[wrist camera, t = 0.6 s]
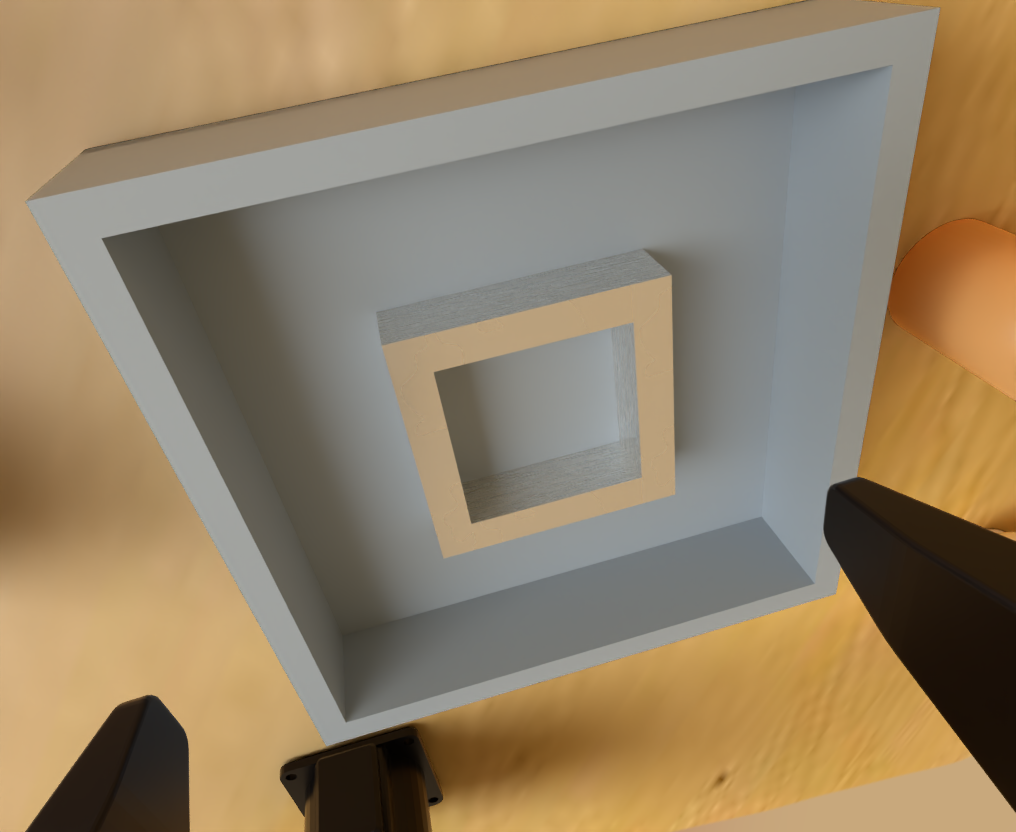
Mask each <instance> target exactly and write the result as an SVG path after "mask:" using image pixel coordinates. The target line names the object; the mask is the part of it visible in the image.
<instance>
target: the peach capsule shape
mask: <svg viewBox="0 0 1016 832" xmlns="http://www.w3.org/2000/svg"><path fill="white" fill-rule="evenodd" d="M888 307H889V312H890V315H891V317H892V319H893V320H894V322H895V323H896V324H897V325H898V326H900V327H901V328H903V329H904V330H906V331H907V332H909V333H910V334H912V335H913V336H915V337H917V338H918V339H920V340H921V341H923V342H924V343H926V344H928V345H929V346H931V347H932V348H934V349H935V350H937V351H938V352H940V353H942V354H943V355H945V356H946V357H948V358H949V359H951V360H952V361H954V362H956V363H957V364H959V365H960V366H962V367H963V368H965V369H966V370H968V371H970V372H971V373H973V374H974V375H976V376H977V377H979V378H980V379H982V380H984V381H985V382H987V383H988V384H990V385H991V386H993V387H994V388H996V389H998V390H999V391H1001V392H1002V393H1004V394H1005V395H1007V396H1008V397H1010V398H1012V399H1013V400H1015V401H1016V235H1015V234H1012V233H1010V232H1007V231H1005V230H1003V229H1000V228H998V227H995V226H993V225H990V224H988V223H985V222H983V221H980V220H977V219H960V220H955V221H952V222H949V223H946V224H944V225H942V226H940V227H938V228H936V229H934V230H933V231H931V232H930V233H929V234H927V235H926V236H925V237H923V238H922V239H921V240H920V241H919V242H918V243H917V244H916V245H915V246H914V247H913V248H912V249H911V250H910V251H909V252H908V253H907V255H906V256H905V257H904V259H903V260H902V262H901V263H900V265H899V267H898V268H897V270H896V272H895V274H894V276H893V279H892V282H891V287H890V293H889V299H888Z"/></svg>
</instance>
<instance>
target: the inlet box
mask: <svg viewBox="0 0 1016 832" xmlns="http://www.w3.org/2000/svg"><path fill="white" fill-rule="evenodd" d="M939 13H940V7H928V6H917V5H906V4H895V3H884V2H873V1H862V0H806V1H802V2H797V3H792V4H787V5H782V6H777V7H772V8H768V9H763V10H758V11H753V12H748V13H743V14H739V15H734V16H729V17H724V18H719V19H714V20H709V21H705V22H700V23H695V24H690V25H685V26H680V27H676V28H671V29H666V30H661V31H656V32H651V33H647V34H642V35H637V36H632V37H627V38H622V39H617V40H613V41H608V42H603V43H598V44H593V45H588V46H584V47H579V48H574V49H569V50H564V51H559V52H554V53H550V54H545V55H540V56H535V57H530V58H525V59H521V60H516V61H511V62H506V63H501V64H496V65H491V66H487V67H482V68H477V69H472V70H467V71H462V72H458V73H453V74H448V75H443V76H438V77H433V78H429V79H424V80H419V81H414V82H409V83H404V84H399V85H395V86H390V87H385V88H380V89H375V90H370V91H366V92H361V93H356V94H351V95H346V96H341V97H336V98H332V99H327V100H322V101H317V102H312V103H307V104H303V105H298V106H293V107H288V108H283V109H278V110H273V111H269V112H264V113H259V114H254V115H249V116H244V117H240V118H235V119H230V120H225V121H220V122H215V123H211V124H206V125H201V126H196V127H191V128H186V129H181V130H177V131H172V132H167V133H162V134H157V135H152V136H148V137H143V138H138V139H133V140H128V141H123V142H118V143H114V144H109V145H104V146H99V147H94V148H89V149H85V150H84V151H83V152H82V153H81V154H80V155H79V156H77V157H76V158H75V159H74V160H73V161H72V162H70V163H69V164H68V165H67V166H66V167H65V168H63V169H62V170H61V171H60V172H59V173H58V174H56V175H55V176H54V177H53V178H52V179H51V180H50V181H48V182H47V183H46V184H45V185H44V186H43V187H41V188H40V189H39V190H38V191H37V192H36V193H34V194H33V195H32V196H31V197H30V198H29V199H28V200H26V201H25V202H26V204H27V206H28V207H29V209H30V211H31V213H32V215H33V216H34V218H35V220H36V222H37V224H38V225H39V227H40V229H41V231H42V233H43V234H44V236H45V238H46V240H47V242H48V244H49V245H50V247H51V249H52V251H53V253H54V254H55V256H56V258H57V260H58V262H59V263H60V265H61V267H62V269H63V271H64V272H65V274H66V276H67V278H68V280H69V282H70V283H71V285H72V287H73V289H74V291H75V292H76V294H77V296H78V298H79V300H80V301H81V303H82V305H83V307H84V309H85V310H86V312H87V314H88V316H89V318H90V320H91V321H92V323H93V325H94V327H95V329H96V330H97V332H98V334H99V336H100V338H101V339H102V341H103V343H104V345H105V347H106V348H107V350H108V352H109V354H110V356H111V358H112V359H113V361H114V363H115V365H116V367H117V368H118V370H119V372H120V374H121V376H122V377H123V379H124V381H125V383H126V385H127V386H128V388H129V390H130V392H131V394H132V396H133V397H134V399H135V401H136V403H137V405H138V406H139V408H140V410H141V412H142V414H143V415H144V417H145V419H146V421H147V423H148V424H149V426H150V428H151V430H152V432H153V434H154V435H155V437H156V439H157V441H158V443H159V444H160V446H161V448H162V450H163V452H164V453H165V455H166V457H167V459H168V461H169V462H170V464H171V466H172V468H173V470H174V472H175V473H176V475H177V477H178V479H179V481H180V482H181V484H182V486H183V488H184V490H185V491H186V493H187V495H188V497H189V499H190V500H191V502H192V504H193V506H194V508H195V510H196V511H197V513H198V515H199V517H200V519H201V520H202V522H203V524H204V526H205V528H206V529H207V531H208V533H209V535H210V537H211V538H212V540H213V542H214V544H215V546H216V548H217V549H218V551H219V553H220V555H221V557H222V558H223V560H224V562H225V564H226V566H227V567H228V569H229V571H230V573H231V575H232V576H233V578H234V580H235V582H236V584H237V585H238V587H239V589H240V591H241V593H242V595H243V596H244V598H245V600H246V602H247V604H248V605H249V607H250V609H251V611H252V613H253V614H254V616H255V618H256V620H257V622H258V623H259V625H260V627H261V629H262V631H263V633H264V634H265V636H266V638H267V640H268V642H269V643H270V645H271V647H272V649H273V651H274V652H275V654H276V656H277V658H278V660H279V661H280V663H281V665H282V667H283V669H284V671H285V672H286V674H287V676H288V678H289V680H290V681H291V683H292V685H293V687H294V689H295V690H296V692H297V694H298V696H299V698H300V699H301V701H302V703H303V705H304V707H305V709H306V710H307V712H308V714H309V716H310V718H311V719H312V721H313V723H314V725H315V727H316V728H317V730H318V732H319V734H320V736H321V737H322V739H323V741H324V743H325V745H326V746H329V745H332V744H336V743H339V742H342V741H346V740H349V739H353V738H356V737H359V736H363V735H366V734H369V733H373V732H376V731H379V730H383V729H386V728H389V727H393V726H396V725H399V724H403V723H406V722H409V721H413V720H416V719H419V718H423V717H426V716H429V715H433V714H436V713H439V712H443V711H446V710H449V709H453V708H456V707H460V706H463V705H466V704H470V703H473V702H476V701H480V700H483V699H486V698H490V697H493V696H496V695H500V694H503V693H506V692H510V691H513V690H516V689H520V688H523V687H526V686H530V685H533V684H536V683H540V682H543V681H546V680H550V679H553V678H556V677H560V676H563V675H567V674H570V673H573V672H577V671H580V670H583V669H587V668H590V667H593V666H597V665H600V664H603V663H607V662H610V661H613V660H617V659H620V658H623V657H627V656H630V655H633V654H637V653H640V652H643V651H647V650H650V649H653V648H657V647H660V646H664V645H667V644H670V643H674V642H677V641H680V640H684V639H687V638H690V637H694V636H697V635H700V634H704V633H707V632H710V631H714V630H717V629H720V628H724V627H727V626H730V625H734V624H737V623H740V622H744V621H747V620H750V619H754V618H757V617H760V616H764V615H767V614H771V613H774V612H777V611H781V610H784V609H787V608H791V607H794V606H797V605H801V604H804V603H807V602H811V601H814V600H817V599H821V598H824V597H827V596H831V595H834V594H836V590H837V585H838V579H839V574H840V568H841V566H840V564H839V563H838V561H837V559H836V558H835V556H834V554H833V553H832V551H831V549H830V548H829V546H828V544H827V542H826V539H825V536H824V531H823V523H824V514H825V505H826V496H827V490H828V489H829V487H830V486H831V485H833V484H835V483H838V482H841V481H845V480H848V479H851V478H855V477H857V473H858V467H859V461H860V456H861V450H862V444H863V439H864V433H865V428H866V422H867V416H868V411H869V405H870V400H871V394H872V388H873V383H874V377H875V372H876V366H877V360H878V355H879V349H880V344H881V338H882V332H883V327H884V321H885V315H886V310H887V304H888V299H889V293H890V287H891V282H892V276H893V271H894V265H895V259H896V254H897V248H898V243H899V237H900V231H901V226H902V220H903V215H904V209H905V203H906V198H907V192H908V186H909V181H910V175H911V170H912V164H913V158H914V153H915V147H916V142H917V136H918V130H919V125H920V119H921V114H922V108H923V102H924V97H925V91H926V85H927V80H928V74H929V69H930V63H931V57H932V52H933V46H934V41H935V35H936V29H937V24H938V18H939Z"/></svg>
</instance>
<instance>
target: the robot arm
mask: <svg viewBox="0 0 1016 832" xmlns="http://www.w3.org/2000/svg"><path fill="white" fill-rule="evenodd" d="M823 531H824V536H825V539H826V542H827V544H828V546H829V548H830V549H831V551H832V553H833V554H834V556H835V558H836V559H837V561H838V563H839V564H840V566H841V568H842V569H843V571H844V573H845V574H846V576H847V578H848V579H849V581H850V582H851V584H852V586H853V587H854V589H855V591H856V592H857V594H858V596H859V597H860V599H861V601H862V602H863V604H864V606H865V607H866V609H867V611H868V612H869V614H870V616H871V617H872V619H873V621H874V622H875V624H876V626H877V627H878V629H879V630H880V632H881V633H882V635H883V636H884V638H885V640H886V641H887V643H888V644H889V645H890V647H891V648H892V650H893V651H894V652H895V654H896V655H897V656H898V658H899V659H900V660H901V662H902V663H903V664H904V666H905V667H906V668H907V670H908V671H909V672H910V674H911V675H912V676H913V678H914V679H915V680H916V682H917V683H918V684H919V686H920V687H921V688H922V690H923V691H924V692H925V694H926V695H927V696H928V697H929V699H930V700H931V701H932V703H933V704H934V705H935V707H936V708H937V709H938V711H939V712H940V713H941V715H942V716H943V717H944V719H945V720H946V721H947V723H948V724H949V725H950V727H951V728H952V729H953V730H954V732H955V733H956V734H957V736H958V737H959V738H960V740H961V741H962V742H963V744H964V745H965V746H966V748H967V749H968V750H969V752H970V753H971V754H972V756H973V757H974V758H975V759H976V761H977V762H978V763H979V765H980V766H981V767H982V769H983V770H984V771H985V773H986V774H987V775H988V777H989V778H990V779H991V781H992V782H993V783H994V785H995V786H996V787H997V789H998V790H999V791H1000V792H1001V794H1002V795H1003V796H1004V798H1005V799H1006V800H1007V802H1008V803H1009V804H1010V806H1011V807H1012V808H1013V810H1014V811H1015V812H1016V541H1015V540H1012V539H1010V538H1007V537H1005V536H1003V535H1000V534H998V533H995V532H993V531H991V530H988V529H986V528H983V527H981V526H978V525H976V524H974V523H971V522H969V521H966V520H964V519H962V518H959V517H957V516H954V515H952V514H949V513H947V512H945V511H942V510H940V509H937V508H935V507H933V506H930V505H928V504H925V503H923V502H921V501H918V500H916V499H913V498H911V497H908V496H906V495H904V494H901V493H899V492H896V491H894V490H892V489H889V488H887V487H884V486H882V485H879V484H877V483H875V482H872V481H870V480H867V479H864V478H860V477H855V478H851V479H848V480H845V481H841V482H838V483H835V484H833V485H831V486H830V487H829V489H828V490H827V496H826V505H825V514H824V523H823ZM280 781H281V782H282V784H283V785H284V787H285V788H286V790H287V791H288V793H289V794H290V796H291V797H292V799H293V800H294V802H295V803H296V805H297V806H298V808H299V810H300V811H301V813H302V814H303V816H304V817H305V832H432V828H431V820H430V813H429V807H430V806H433V805H436V804H438V803H440V802H441V801H442V800H443V795H442V789H441V787H440V784H439V782H438V779H437V777H436V774H435V772H434V769H433V767H432V764H431V762H430V760H429V757H428V755H427V752H426V750H425V747H424V745H423V742H422V740H421V737H420V735H419V732H418V730H417V729H415V728H404V729H401V730H398V731H394V732H391V733H388V734H384V735H381V736H378V737H374V738H371V739H368V740H364V741H361V742H358V743H354V744H351V745H348V746H344V747H341V748H338V749H334V750H331V751H328V752H324V753H321V754H318V755H314V756H311V757H308V758H304V759H301V760H298V761H294V762H291V763H288V764H285V765H284V766H282V767H281V769H280ZM25 832H190V822H189V748H188V740H187V736H186V733H185V731H184V729H183V728H182V726H181V725H180V724H179V722H178V721H177V720H176V719H175V718H174V716H173V715H172V714H171V713H170V711H169V710H168V709H167V708H166V706H165V705H164V704H163V703H162V702H161V700H160V699H159V698H158V697H156V696H153V695H146V696H143V697H140V698H136V699H133V700H130V701H127V702H124V703H122V704H120V705H118V706H117V707H116V708H115V709H114V710H113V711H112V712H111V714H110V715H109V717H108V718H107V719H106V721H105V722H104V723H103V725H102V726H101V728H100V729H99V730H98V732H97V733H96V735H95V736H94V737H93V739H92V740H91V741H90V743H89V744H88V746H87V747H86V748H85V750H84V751H83V753H82V754H81V755H80V757H79V758H78V759H77V761H76V762H75V764H74V765H73V766H72V768H71V769H70V771H69V772H68V773H67V775H66V776H65V777H64V779H63V780H62V782H61V783H60V784H59V786H58V787H57V789H56V790H55V791H54V793H53V794H52V795H51V797H50V798H49V800H48V801H47V802H46V804H45V805H44V807H43V808H42V809H41V811H40V812H39V813H38V815H37V816H36V818H35V819H34V820H33V822H32V823H31V825H30V826H29V827H28V829H27V830H26V831H25Z"/></svg>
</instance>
